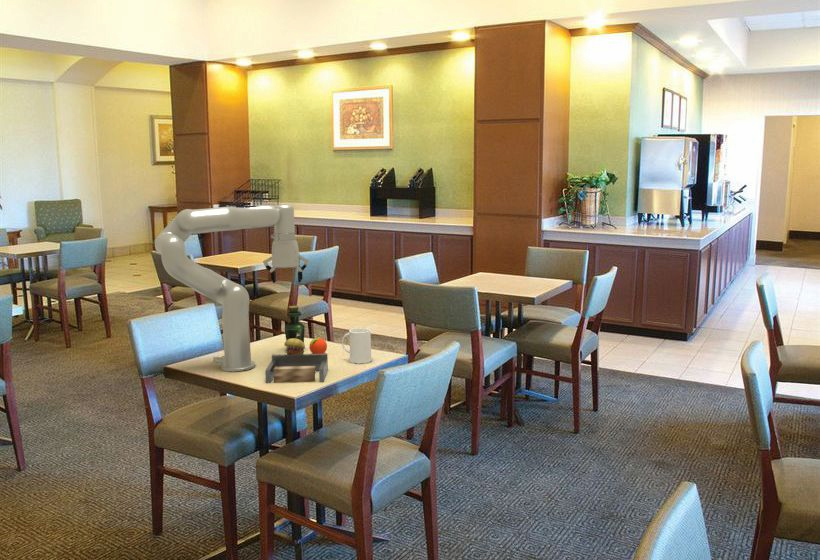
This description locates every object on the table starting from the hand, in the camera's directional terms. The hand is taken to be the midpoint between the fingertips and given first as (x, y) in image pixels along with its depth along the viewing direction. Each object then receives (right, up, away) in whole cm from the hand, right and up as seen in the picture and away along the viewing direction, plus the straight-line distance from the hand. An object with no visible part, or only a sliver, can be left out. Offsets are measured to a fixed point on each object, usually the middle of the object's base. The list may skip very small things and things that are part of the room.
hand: (287, 282), depth 265 cm
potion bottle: (0, -28, +19) cm, 34 cm away
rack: (+7, -33, -18) cm, 39 cm away
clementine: (+10, -29, +10) cm, 32 cm away
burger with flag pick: (+4, -32, -4) cm, 32 cm away
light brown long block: (+7, -35, -23) cm, 42 cm away
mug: (+27, -30, +1) cm, 40 cm away
